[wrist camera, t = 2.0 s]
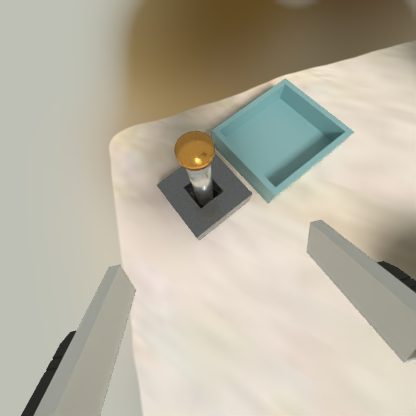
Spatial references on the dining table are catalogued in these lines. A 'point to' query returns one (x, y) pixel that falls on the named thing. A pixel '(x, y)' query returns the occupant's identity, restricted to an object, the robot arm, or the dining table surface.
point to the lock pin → (197, 162)
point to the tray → (278, 138)
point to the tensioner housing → (213, 211)
